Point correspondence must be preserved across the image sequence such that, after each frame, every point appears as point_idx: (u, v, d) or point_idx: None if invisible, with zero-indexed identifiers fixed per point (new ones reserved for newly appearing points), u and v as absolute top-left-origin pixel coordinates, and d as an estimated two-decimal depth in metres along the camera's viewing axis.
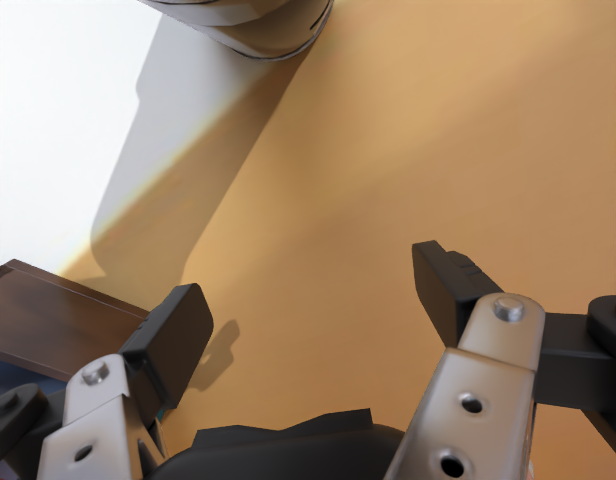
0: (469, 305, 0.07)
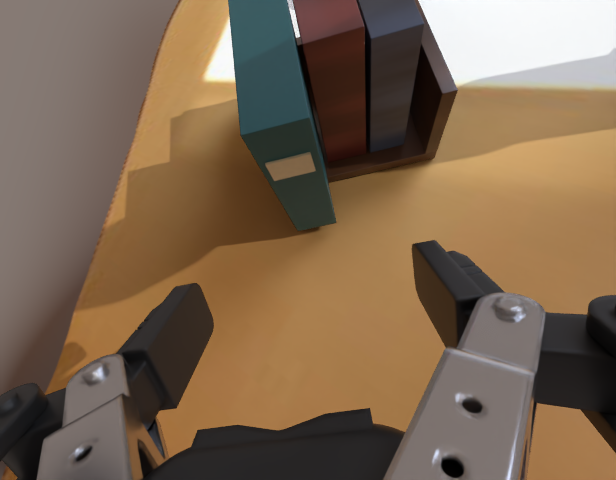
0: (469, 305, 0.07)
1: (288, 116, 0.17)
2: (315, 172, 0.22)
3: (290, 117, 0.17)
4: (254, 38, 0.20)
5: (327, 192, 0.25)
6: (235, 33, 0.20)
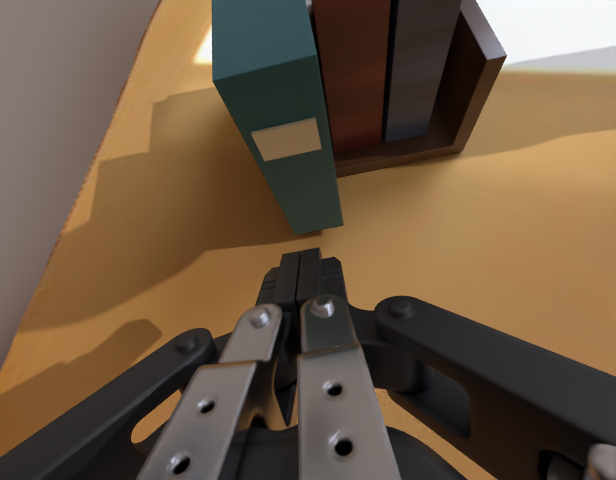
0: None
1: (284, 53, 0.11)
2: (321, 151, 0.16)
3: (287, 55, 0.11)
4: None
5: (335, 183, 0.19)
6: None
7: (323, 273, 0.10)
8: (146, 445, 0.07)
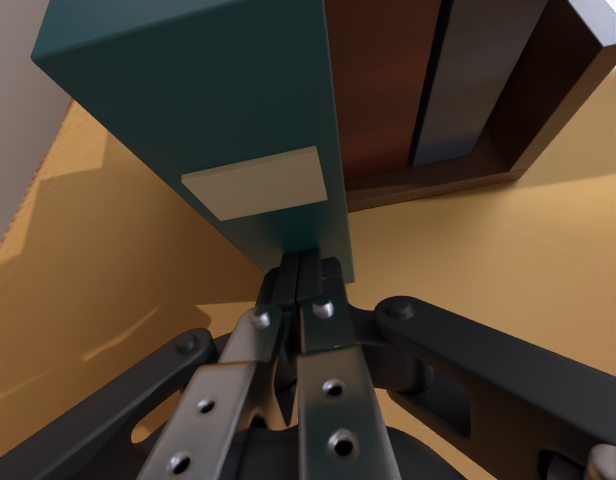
0: None
1: None
2: (326, 202, 0.09)
3: None
4: None
5: (347, 241, 0.11)
6: None
7: (323, 273, 0.10)
8: (146, 445, 0.07)
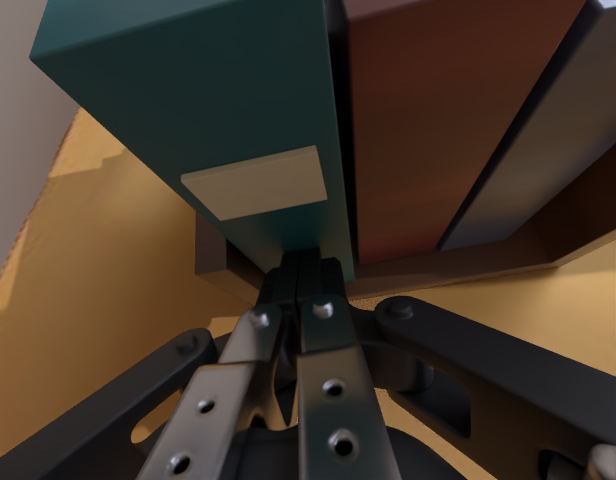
0: None
1: None
2: (326, 201, 0.09)
3: None
4: None
5: (347, 240, 0.11)
6: None
7: (323, 273, 0.10)
8: (146, 445, 0.07)
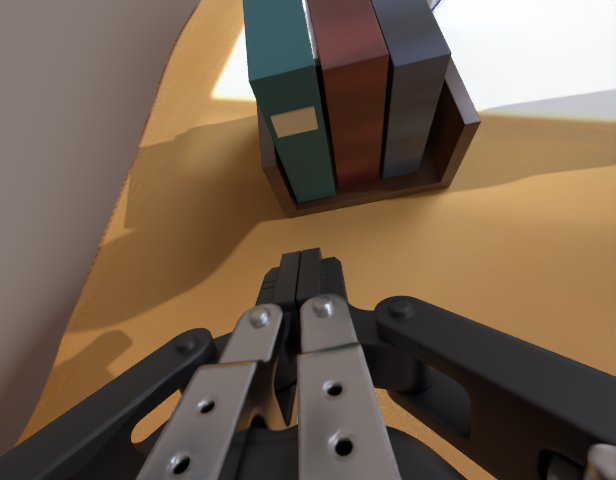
0: None
1: (294, 64, 0.18)
2: (317, 131, 0.23)
3: (296, 65, 0.18)
4: None
5: (328, 156, 0.26)
6: None
7: (323, 273, 0.10)
8: (146, 445, 0.07)
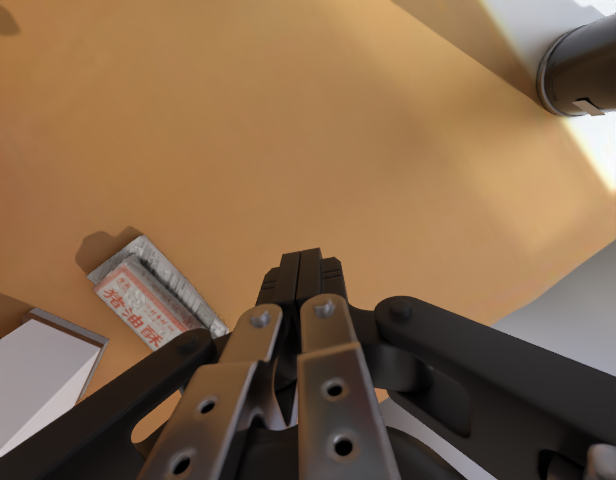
0: None
1: None
2: None
3: None
4: None
5: None
6: None
7: (323, 273, 0.10)
8: (146, 445, 0.07)
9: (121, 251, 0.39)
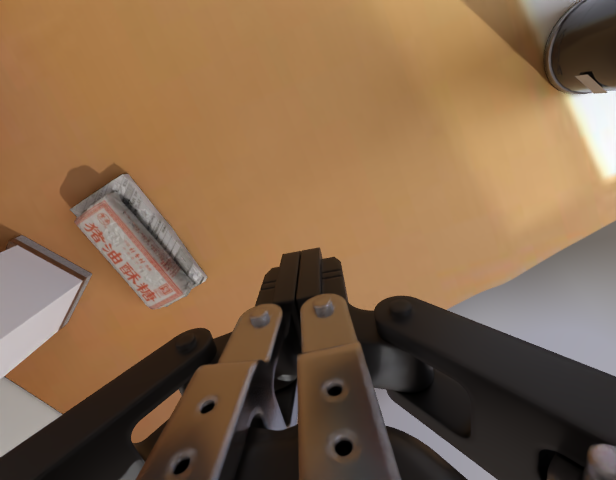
0: None
1: None
2: None
3: None
4: None
5: None
6: None
7: (323, 273, 0.10)
8: (146, 445, 0.07)
9: (104, 187, 0.40)
